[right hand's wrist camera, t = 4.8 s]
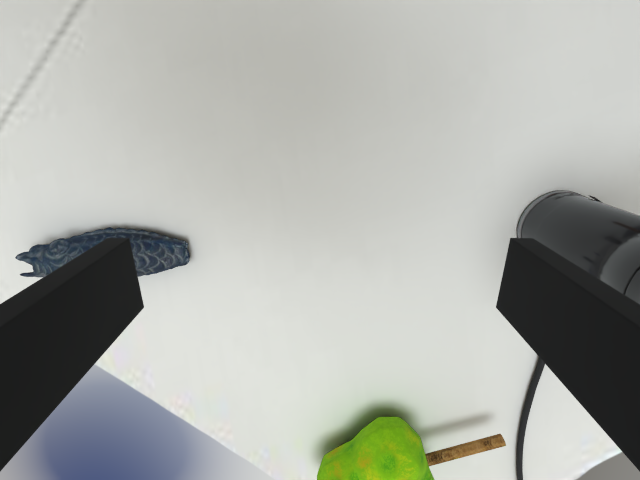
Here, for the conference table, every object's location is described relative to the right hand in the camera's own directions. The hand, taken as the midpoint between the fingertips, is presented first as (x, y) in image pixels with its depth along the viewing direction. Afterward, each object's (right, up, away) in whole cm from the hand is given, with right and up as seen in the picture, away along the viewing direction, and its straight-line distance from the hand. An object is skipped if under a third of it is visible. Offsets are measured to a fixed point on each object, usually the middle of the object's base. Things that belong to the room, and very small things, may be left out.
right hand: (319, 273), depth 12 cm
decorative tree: (+14, -32, +47) cm, 59 cm away
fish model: (-28, 0, +35) cm, 45 cm away
